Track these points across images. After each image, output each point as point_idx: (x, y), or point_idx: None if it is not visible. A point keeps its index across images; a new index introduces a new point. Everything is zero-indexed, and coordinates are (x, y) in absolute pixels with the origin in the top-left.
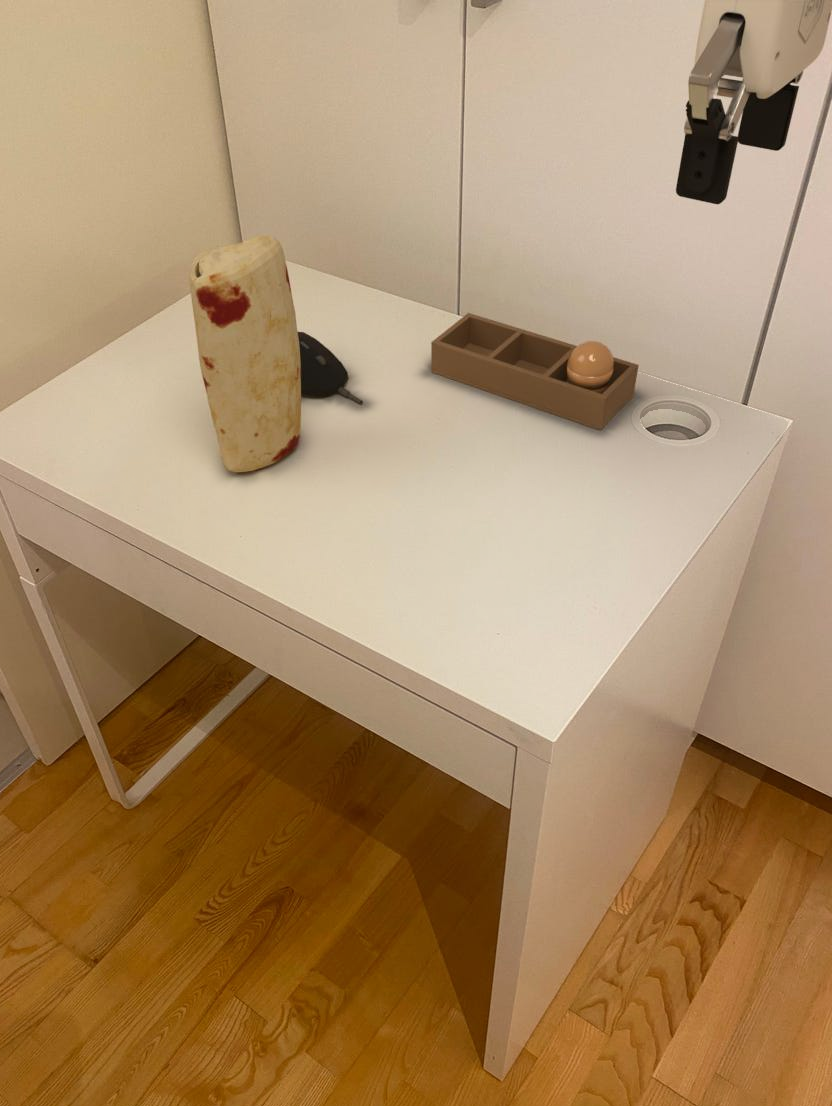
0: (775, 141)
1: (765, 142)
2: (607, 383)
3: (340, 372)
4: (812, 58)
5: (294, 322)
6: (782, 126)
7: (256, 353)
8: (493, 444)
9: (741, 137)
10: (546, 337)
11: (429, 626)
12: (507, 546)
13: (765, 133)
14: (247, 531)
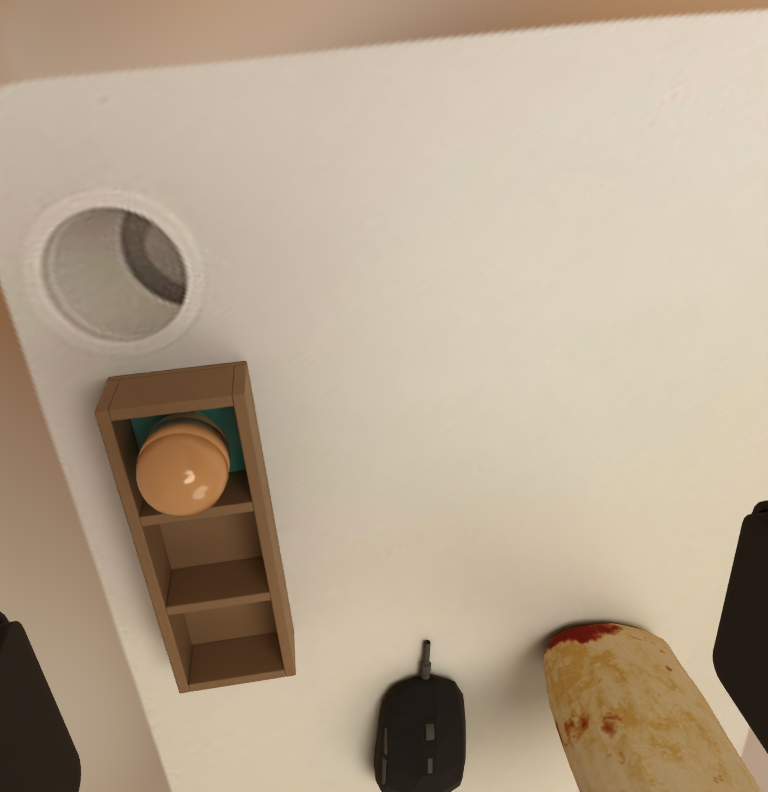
0: (10, 668)
1: (34, 694)
2: (184, 420)
3: (409, 700)
4: None
5: None
6: None
7: (721, 782)
8: (394, 460)
9: (70, 785)
10: (146, 574)
11: None
12: (605, 295)
13: (20, 744)
14: (734, 555)
